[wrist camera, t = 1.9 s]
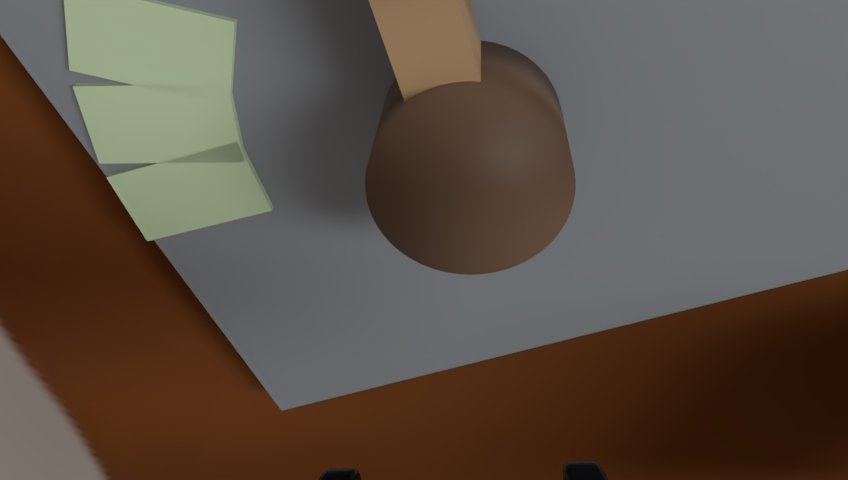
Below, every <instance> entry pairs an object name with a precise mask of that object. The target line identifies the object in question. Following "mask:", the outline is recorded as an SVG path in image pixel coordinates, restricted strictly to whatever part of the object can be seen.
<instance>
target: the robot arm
mask: <svg viewBox="0 0 848 480" xmlns="http://www.w3.org/2000/svg"><path fill="white" fill-rule="evenodd" d="M319 480H361V476H360V474H359V472H358V471H357V470H356V469H353V468H344V469H329V470H327V471H326V472H324V473H323V474H322V476H321V477H320V478H319ZM563 480H608V478H607V477H606V475H605V474H604V472H603V470H602V469H601V467H600V466H599V465H598V464H597V463H596V462H593V461H576V462H566V463H565V464H564V466H563Z"/></svg>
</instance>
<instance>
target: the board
mask: <svg viewBox="0 0 848 480" xmlns="http://www.w3.org/2000/svg"><path fill="white" fill-rule="evenodd" d="M470 3H471V7H472V10H473V14H474V17H475V21H476V25H477V28H478V32H479V35H480V39H481V41H488V42H494V43H498V44H501V45H504V46H508V47H510V48H512V49H514V50H516V51H518V52H520V53H522V54H523V55H525V56H526V57H528V58H529V59H531V60H532V61H533V62H534V63H535V64H536V65H538V66H539V67H540V69H541V70H542V71H543V72H544V73H545V74H546V75H547V77H548V78H549V80H550V81H551V83H552V85H553V87H554V89H555V91H556V93H557V95H558V99H559V102H560V105H561V110H562V114H563V119H564V124H565V128H566V133H567V137H568V142H569V147H570V151H571V156H572V161H573V165H574V171H575V178H576V191H575V197H574V203H573V206H572V209H571V212H570V215H569V217H568V219H567V221H566V223H565V225H564V227H563V228H562V230H561V231H560V233H559V234H558V235H557V236H556V238H555V239H554V240H553V241H552V242H551V243H550V244H549V245H548V246H547V247H546V248H545V249H543V250H542V251H541V252H540V253H538V254H537V255H535V256H534V257H532V258H531V259H529V260H527V261H525V262H523V263H521V264H520V265H517V266H514V267H512V268H509V269H506V270H502V271H498V272H494V273H488V274H477V275H464V274H454V273H447V272H443V271H439V270H435V269H432V268H430V267H427V266H424V265H422V264H420V263H418V262H416V261H414V260H412V259H410V258H409V257H407V256H406V255H404V254H403V253H401V252H400V251H399V250H398V249H397V248H395V247H394V246H393V245H392V244H391V243H390V242H389V241H388V240H387V239H386V237H385V236H384V235H383V234H382V232H381V231H380V230H379V228H378V227H377V225H376V223H375V221H374V219H373V217H372V215H371V213H370V210H369V207H368V204H367V198H366V193H365V176H366V168H367V165H368V161H369V157H370V154H371V150H372V146H373V143H374V139H375V135H376V132H377V128H378V124H379V121H380V117H381V113H382V110H383V106H384V102H385V99H386V96H387V94H388V91H389V89H390V87H391V85H392V84H393V82H394V81H395V79H396V76H395V73H394V71H393V68H392V65H391V62H390V59H389V56H388V54H387V51H386V48H385V45H384V42H383V40H382V37H381V34H380V31H379V28H378V25H377V23H376V20H375V17H374V14H373V11H372V9H371V6H370V3H369V0H0V35H1V37H2V38H3V39H4V41H5V42H6V43H7V45H8V46H9V47H10V49H11V50H12V51H13V53H14V54H15V55H16V57H17V58H18V59H19V61H20V62H21V63H22V65H23V66H24V67H25V69H26V70H27V71H28V73H29V74H30V75H31V77H32V78H33V79H34V81H35V82H36V83H37V85H38V86H39V87H40V89H41V90H42V91H43V93H44V94H45V95H46V97H47V98H48V99H49V101H50V102H51V103H52V105H53V106H54V107H55V109H56V110H57V111H58V113H59V114H60V115H61V117H62V118H63V119H64V121H65V122H66V123H67V125H68V126H69V127H70V129H71V130H72V131H73V133H74V134H75V135H76V137H77V138H78V139H79V141H80V142H81V143H82V145H83V146H84V147H85V149H86V150H87V151H88V153H89V154H90V155H91V157H92V158H93V159H94V161H95V162H96V163H97V165H98V166H99V167H100V169H101V170H102V171H103V173H104V174H105V175H106V178H107V180H108V181H109V183H110V184H111V186H112V187H113V189H114V191H115V192H116V194H117V195H118V197H119V198H120V200H121V201H122V203H123V205H124V206H125V208H126V209H127V211H128V212H129V214H130V215H131V217H132V219H133V220H134V222H135V223H136V225H137V226H138V228H139V229H140V231H141V233H142V234H143V236H144V237H145V239H146V240H147V241H151V240H154V241H155V242H156V244H157V245H158V246H159V248H160V249H161V250H162V252H163V253H164V254H165V256H166V257H167V258H168V260H169V261H170V262H171V264H172V265H173V266H174V268H175V269H176V270H177V272H178V273H179V274H180V276H181V277H182V278H183V280H184V281H185V282H186V284H187V285H188V286H189V288H190V289H191V290H192V292H193V293H194V294H195V296H196V297H197V298H198V300H199V301H200V302H201V304H202V305H203V306H204V308H205V309H206V310H207V312H208V313H209V314H210V316H211V317H212V318H213V320H214V321H215V322H216V324H217V325H218V326H219V328H220V329H221V330H222V332H223V333H224V334H225V336H226V337H227V338H228V340H229V341H230V342H231V344H232V345H233V346H234V348H235V349H236V350H237V352H238V353H239V354H240V356H241V357H242V358H243V360H244V361H245V362H246V364H247V365H248V367H249V368H250V369H251V371H252V372H253V373H254V375H255V376H256V377H257V379H258V380H259V381H260V383H261V384H262V385H263V387H264V388H265V389H266V391H267V392H268V393H269V395H270V396H271V397H272V399H273V400H274V401H275V403H276V404H277V405H278V407H279V408H280V409H281V411H282V410H286V409H290V408H294V407H298V406H302V405H306V404H310V403H314V402H318V401H322V400H326V399H330V398H334V397H338V396H342V395H346V394H350V393H354V392H358V391H362V390H366V389H370V388H374V387H378V386H382V385H386V384H390V383H394V382H398V381H402V380H406V379H410V378H414V377H418V376H422V375H426V374H430V373H434V372H438V371H442V370H447V369H451V368H455V367H459V366H463V365H467V364H471V363H475V362H479V361H483V360H487V359H491V358H495V357H499V356H503V355H507V354H511V353H515V352H519V351H523V350H527V349H531V348H535V347H539V346H543V345H547V344H551V343H555V342H559V341H563V340H567V339H571V338H575V337H579V336H583V335H587V334H591V333H595V332H599V331H603V330H607V329H611V328H615V327H619V326H623V325H627V324H631V323H635V322H639V321H643V320H647V319H651V318H655V317H659V316H663V315H667V314H671V313H675V312H679V311H683V310H687V309H691V308H695V307H700V306H704V305H708V304H712V303H716V302H720V301H724V300H728V299H732V298H736V297H740V296H744V295H748V294H752V293H756V292H760V291H764V290H768V289H772V288H776V287H780V286H784V285H788V284H792V283H796V282H800V281H804V280H808V279H812V278H816V277H820V276H824V275H828V274H832V273H836V272H840V271H844V270H848V0H470Z"/></svg>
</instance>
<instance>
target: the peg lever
mask: <svg viewBox="0 0 848 480" xmlns="http://www.w3.org/2000/svg"><path fill="white" fill-rule="evenodd" d="M369 3H370V6H371V9H372V11H373V14H374V17H375V20H376V23H377V25H378V28H379V31H380V34H381V37H382V40H383V42H384V45H385V48H386V51H387V54H388V56H389V59H390V62H391V65H392V68H393V71H394V73H395V76H396V79H395V81H394V82H393V84H392V85H391V87H390V89H389V91H388V94H387V96H386V99H385V102H384V106H383V110H382V113H381V117H380V121H379V124H378V128H377V132H376V135H375V139H374V143H373V146H372V150H371V154H370V157H369V161H368V165H367V168H366V176H365V193H366V198H367V204H368V207H369V210H370V213H371V215H372V217H373V219H374V221H375V223H376V225H377V227H378V228H379V230H380V231H381V232H382V234H383V235H384V236H385V237H386V239H387V240H388V241H389V242H390V243H391V244H392V245H393V246H394V247H395V248H397V249H398V250H399V251H400V252H401V253H403V254H404V255H406V256H407V257H409V258H410V259H412V260H414V261H416V262H418V263H420V264H422V265H424V266H427V267H430V268H432V269H435V270H439V271H443V272H447V273H454V274H464V275H477V274H488V273H494V272H498V271H502V270H506V269H509V268H512V267H514V266H517V265H520V264H521V263H523V262H525V261H527V260H529V259H531V258H532V257H534V256H535V255H537V254H538V253H540V252H541V251H542V250H543V249H545V248H546V247H547V246H548V245H549V244H550V243H551V242H552V241H553V240H554V239H555V238H556V236H557V235H558V234H559V233H560V231H561V230H562V228H563V227H564V225H565V223H566V221H567V219H568V217H569V215H570V212H571V209H572V206H573V203H574V197H575V191H576V178H575V171H574V165H573V161H572V156H571V151H570V147H569V142H568V137H567V133H566V128H565V124H564V119H563V114H562V110H561V105H560V102H559V99H558V95H557V93H556V91H555V89H554V87H553V85H552V83H551V81H550V80H549V78H548V77H547V75H546V74H545V73H544V72H543V71H542V70H541V69H540V67H539V66H538V65H536V64H535V63H534V62H533V61H532V60H531V59H529V58H528V57H526V56H525V55H523V54H522V53H520V52H518V51H516V50H514V49H512V48H510V47H508V46H504V45H501V44H498V43H494V42H488V41H481V39H480V35H479V32H478V28H477V25H476V21H475V17H474V14H473V10H472V7H471V3H470V0H369Z"/></svg>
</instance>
